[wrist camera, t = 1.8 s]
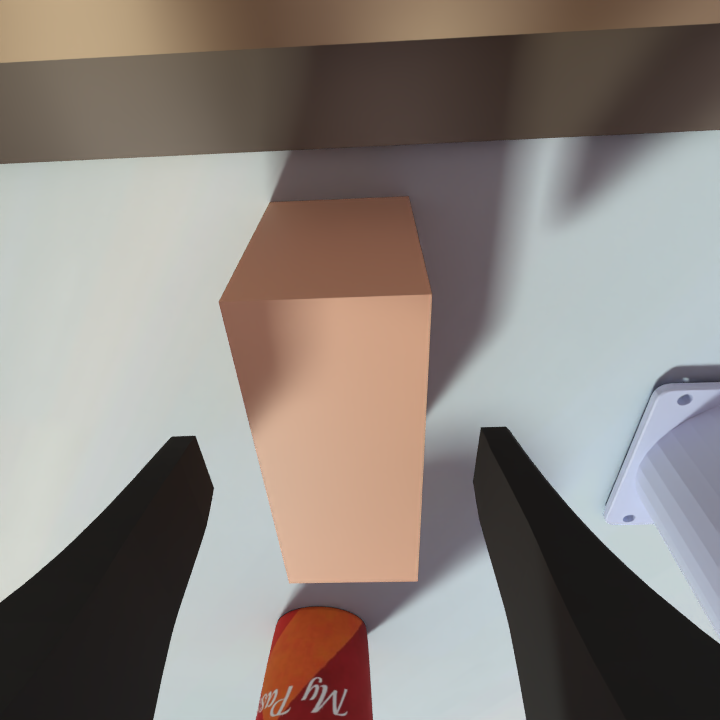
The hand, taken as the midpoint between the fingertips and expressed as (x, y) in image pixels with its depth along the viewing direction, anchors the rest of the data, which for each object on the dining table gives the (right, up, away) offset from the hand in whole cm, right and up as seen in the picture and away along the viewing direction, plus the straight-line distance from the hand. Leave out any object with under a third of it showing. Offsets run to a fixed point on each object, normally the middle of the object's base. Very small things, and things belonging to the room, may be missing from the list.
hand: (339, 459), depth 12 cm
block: (0, +3, +4) cm, 6 cm away
